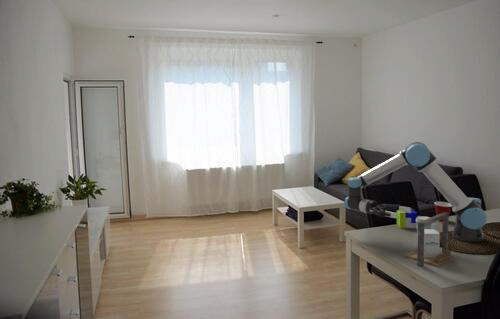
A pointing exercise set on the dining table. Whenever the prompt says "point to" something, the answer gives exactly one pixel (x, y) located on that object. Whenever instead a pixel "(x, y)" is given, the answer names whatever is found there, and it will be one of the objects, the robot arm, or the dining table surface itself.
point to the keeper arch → (419, 252)
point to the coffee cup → (422, 218)
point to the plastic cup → (442, 208)
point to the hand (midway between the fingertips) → (404, 213)
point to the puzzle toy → (407, 219)
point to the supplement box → (431, 243)
